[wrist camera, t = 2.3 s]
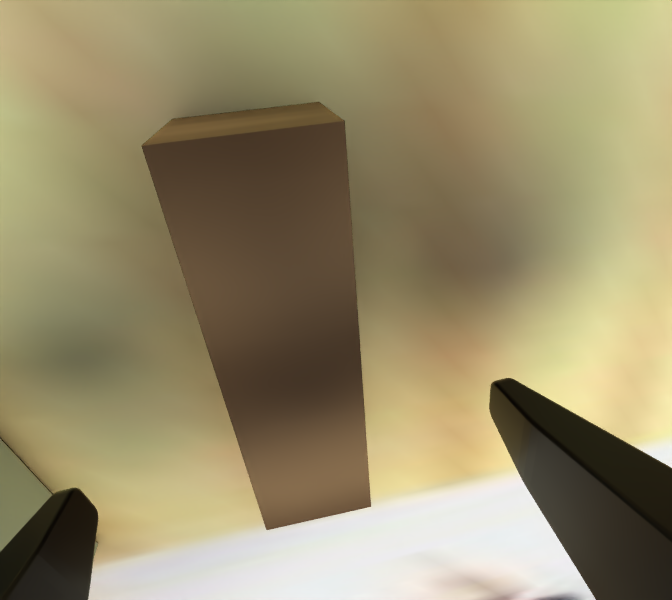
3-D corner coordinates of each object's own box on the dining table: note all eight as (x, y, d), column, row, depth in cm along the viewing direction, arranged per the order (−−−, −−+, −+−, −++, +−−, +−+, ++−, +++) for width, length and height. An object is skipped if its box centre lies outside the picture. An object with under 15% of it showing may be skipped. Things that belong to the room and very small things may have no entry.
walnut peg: (349, 425, 17) (370, 506, 14) (263, 443, 16) (266, 530, 13) (317, 100, 10) (344, 121, 7) (174, 117, 10) (141, 145, 7)
